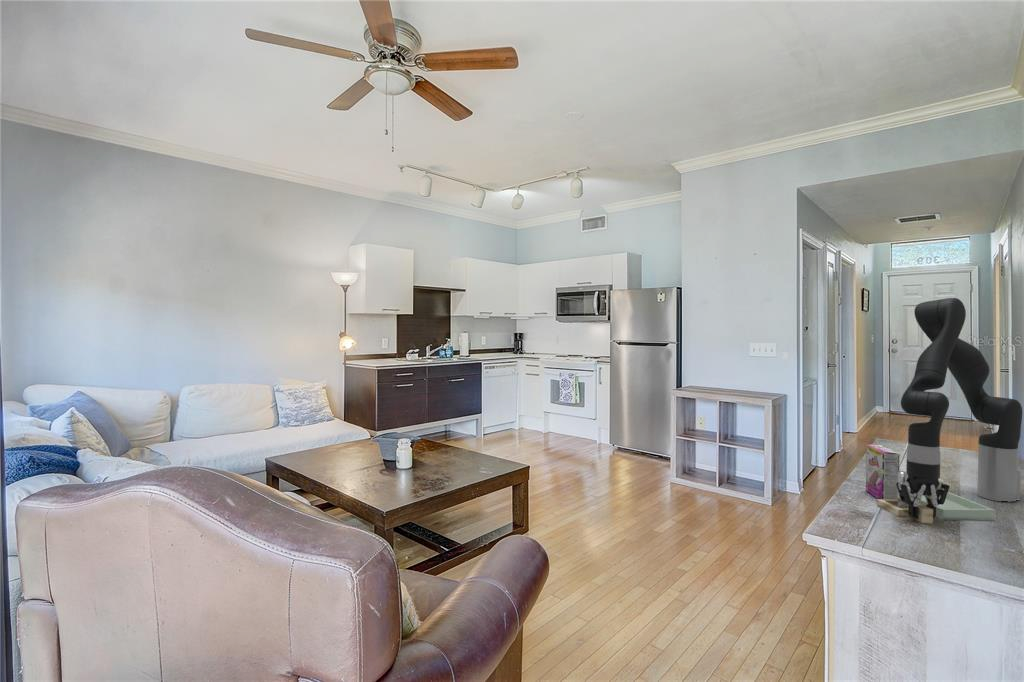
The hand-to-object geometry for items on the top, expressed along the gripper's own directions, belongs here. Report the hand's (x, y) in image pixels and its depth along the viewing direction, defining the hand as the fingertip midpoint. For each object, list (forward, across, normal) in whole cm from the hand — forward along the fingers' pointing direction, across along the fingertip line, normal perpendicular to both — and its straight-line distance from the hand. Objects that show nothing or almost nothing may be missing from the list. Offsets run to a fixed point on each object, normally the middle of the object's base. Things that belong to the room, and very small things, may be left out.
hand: (921, 517), depth 143 cm
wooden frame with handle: (+1, 0, -5) cm, 5 cm away
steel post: (+1, 0, -8) cm, 8 cm away
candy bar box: (+1, -2, -19) cm, 20 cm away
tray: (+1, -14, -10) cm, 18 cm away
